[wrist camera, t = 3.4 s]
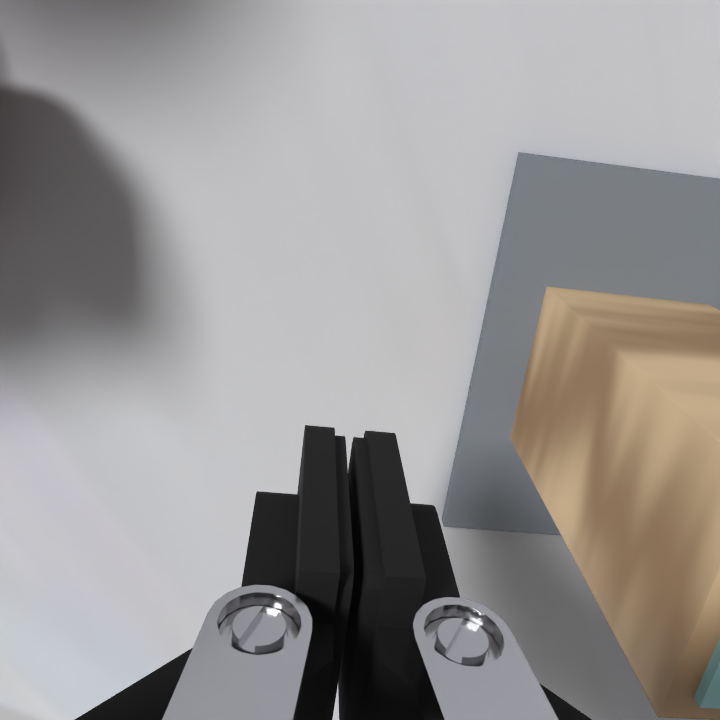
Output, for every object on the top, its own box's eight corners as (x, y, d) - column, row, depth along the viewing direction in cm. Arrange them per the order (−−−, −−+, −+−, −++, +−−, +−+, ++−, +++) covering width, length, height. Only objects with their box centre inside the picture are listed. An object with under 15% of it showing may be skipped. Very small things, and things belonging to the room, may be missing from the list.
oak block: (546, 286, 19) (765, 483, 10) (709, 304, 20) (1069, 509, 10) (509, 438, 21) (663, 727, 12) (659, 451, 21) (924, 739, 12)
